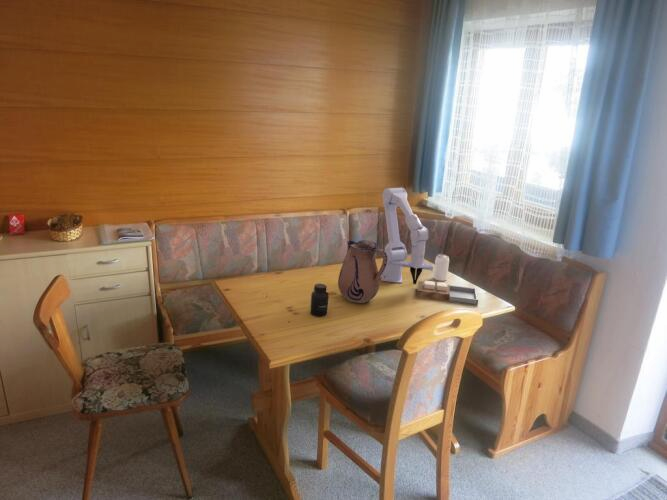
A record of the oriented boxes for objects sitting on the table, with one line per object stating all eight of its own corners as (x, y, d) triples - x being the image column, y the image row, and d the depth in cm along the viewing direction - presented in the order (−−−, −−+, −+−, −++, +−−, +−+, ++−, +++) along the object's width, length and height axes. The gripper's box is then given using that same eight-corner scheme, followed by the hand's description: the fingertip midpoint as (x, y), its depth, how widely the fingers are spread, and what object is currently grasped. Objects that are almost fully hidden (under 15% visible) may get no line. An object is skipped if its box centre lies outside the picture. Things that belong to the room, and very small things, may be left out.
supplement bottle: (321, 319, 188) (322, 290, 184) (306, 314, 191) (308, 286, 188) (330, 313, 193) (332, 285, 190) (316, 308, 197) (317, 281, 193)
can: (447, 281, 235) (450, 258, 231) (434, 280, 235) (437, 257, 231) (445, 276, 241) (448, 254, 237) (432, 276, 241) (435, 253, 238)
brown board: (416, 296, 215) (417, 290, 214) (418, 287, 226) (418, 281, 225) (449, 300, 212) (449, 294, 211) (448, 290, 223) (449, 284, 222)
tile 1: (424, 288, 217) (424, 283, 216) (424, 284, 221) (424, 280, 220) (434, 289, 216) (434, 285, 215) (434, 285, 220) (434, 281, 219)
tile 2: (436, 289, 216) (437, 285, 215) (436, 286, 220) (437, 282, 219) (446, 290, 215) (447, 286, 214) (446, 287, 219) (447, 283, 218)
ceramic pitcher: (347, 288, 219) (350, 235, 212) (391, 298, 211) (396, 243, 203) (330, 301, 204) (333, 245, 197) (376, 313, 196) (381, 254, 188)
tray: (449, 301, 211) (449, 296, 210) (448, 290, 224) (449, 285, 223) (477, 305, 209) (478, 299, 208) (475, 293, 222) (476, 288, 221)
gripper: (400, 255, 213) (397, 284, 217) (434, 259, 210) (430, 288, 214) (401, 251, 219) (399, 279, 223) (434, 254, 217) (431, 282, 221)
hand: (414, 283), depth 219 cm, fingers closed
